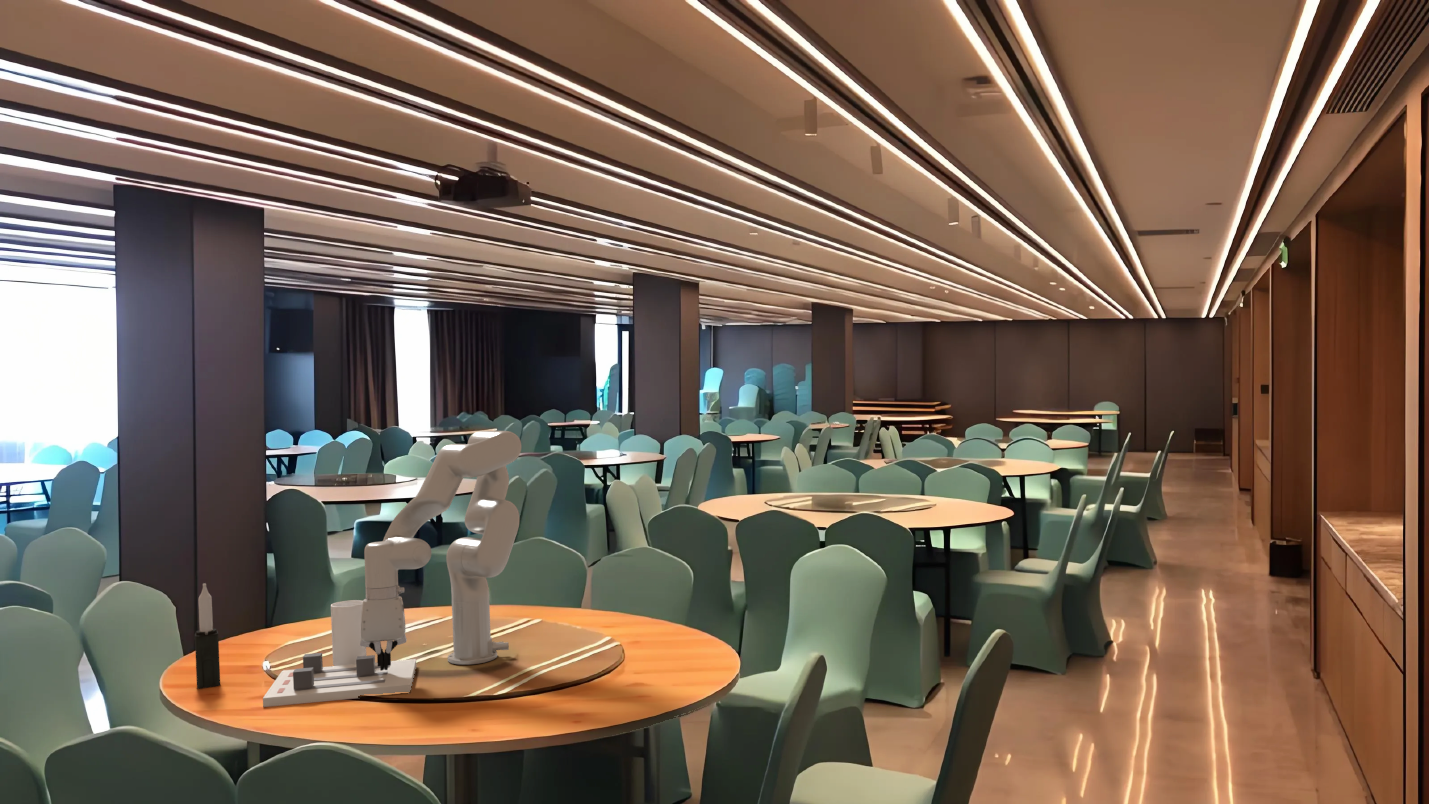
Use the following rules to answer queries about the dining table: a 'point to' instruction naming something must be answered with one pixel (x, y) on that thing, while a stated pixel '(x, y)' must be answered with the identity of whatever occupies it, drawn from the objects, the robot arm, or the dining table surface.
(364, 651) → the cup
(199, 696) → the dining table surface
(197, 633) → the black and grey marker
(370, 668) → the handle
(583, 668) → the dining table surface
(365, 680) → the switch panel
